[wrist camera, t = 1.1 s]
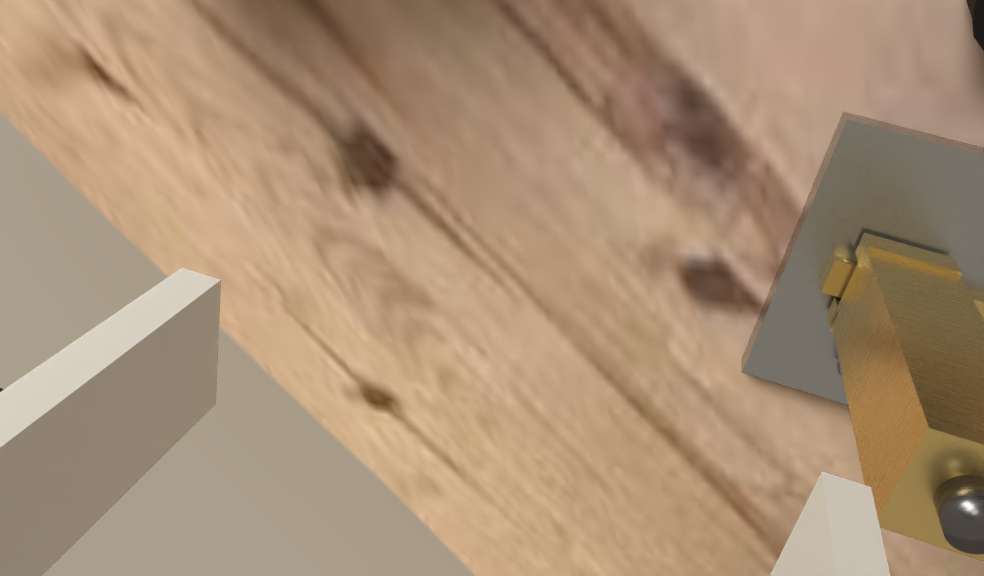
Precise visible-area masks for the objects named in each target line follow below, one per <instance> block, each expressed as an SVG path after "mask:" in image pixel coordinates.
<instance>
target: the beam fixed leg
mask: <svg viewBox="0 0 984 576" xmlns="http://www.w3.org/2000/svg"><path fill="white" fill-rule="evenodd" d="M857 263H858V260H857V257H853V256H850V255H846V254H843V253H839V252H836V251H833V252H832V254H831V256H830V259H829V261H828V263H827V265H826V268H825V270H824V272H823V274H822V277H821V279H820V281H819V284H820V289H821V292H822V293H826V294H829V295H832V296H836V297H839V298H842V296H843V294H844V292H845V289H846V287H847V285H848V283H849V281H850V279H851V276H852V274H853V272H854V270H855V268H856V266H857ZM967 290H968V292H969V294H970V296H971V298H972V299H973V301H974V303H975V305H976V306H977V308H978V310H979V312H980V313H981V315H982V317H983V319H984V293H981V292H977V291H974V290H970V289H967Z"/></svg>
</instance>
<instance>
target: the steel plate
mask: <svg viewBox="0 0 984 576" xmlns="http://www.w3.org/2000/svg"><path fill="white" fill-rule="evenodd" d="M864 233H868V234H871V235H875V236H878V237H882V238H886V239H889V240H893V241H896V242H900V243H904V244H907V245H911V246H914V247H918V248H921V249H925V250H929V251H932V252H936V253H939V254H943V255H947V256H950V257H954V259H955V261H956V262H957V264H958V266H959V268H960V269H961V271H962V275H961V277H960V278H961V280H962V282H963V283H964V285H965V287H966V289H970V290H974V291H977V292H981V293H984V148H980V147H976V146H973V145H969V144H965V143H961V142H957V141H953V140H949V139H946V138H942V137H938V136H934V135H930V134H926V133H922V132H919V131H915V130H911V129H907V128H903V127H899V126H895V125H892V124H888V123H884V122H880V121H876V120H872V119H868V118H865V117H861V116H857V115H853V114H849V113H845V112H843V114H842V117H841V119H840V122H839V124H838V126H837V129H836V131H835V134H834V136H833V139H832V141H831V143H830V146H829V148H828V151H827V153H826V156H825V158H824V160H823V163H822V165H821V168H820V170H819V173H818V175H817V177H816V180H815V182H814V185H813V187H812V190H811V192H810V195H809V197H808V199H807V202H806V204H805V207H804V209H803V212H802V214H801V216H800V219H799V221H798V224H797V226H796V229H795V231H794V233H793V236H792V238H791V241H790V243H789V246H788V248H787V250H786V253H785V255H784V258H783V260H782V263H781V265H780V267H779V270H778V272H777V275H776V277H775V280H774V282H773V285H772V287H771V289H770V292H769V294H768V297H767V299H766V302H765V304H764V306H763V309H762V311H761V314H760V316H759V319H758V321H757V323H756V326H755V328H754V331H753V333H752V336H751V338H750V340H749V343H748V345H747V348H746V350H745V353H744V355H743V357H742V373H746V374H749V375H752V376H755V377H759V378H762V379H765V380H768V381H772V382H775V383H778V384H781V385H785V386H788V387H791V388H794V389H797V390H801V391H804V392H807V393H810V394H814V395H817V396H820V397H823V398H827V399H830V400H833V401H836V402H840V403H843V404H846V405H848V401H847V396H846V392H845V387H844V382H843V377H842V375H839V374H838V370H837V363H838V361H839V358H838V353H837V349H836V344H835V339H834V334H833V332H831V331H830V328H829V324H828V319H827V313H828V311H829V308H830V306H831V304H832V302H833V300H834V297H836V296H832V295H829V294H826V293H822V292H821V289H820V284H819V281H820V279H821V277H822V274H823V272H824V270H825V268H826V265H827V263H828V261H829V259H830V256H831V254H832V252H833V251H836V252H839V253H843V254H846V255H850V256H853V257H856V253H855V251H856V249H857V247H858V245H859V243H860V240H861V238H862V236H863V234H864Z"/></svg>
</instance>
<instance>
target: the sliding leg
mask: <svg viewBox="0 0 984 576" xmlns="http://www.w3.org/2000/svg"><path fill="white" fill-rule="evenodd" d="M855 253H856V257H857V260H858V263H857V266H856V268H855V270H854V272H853V274H852V276H851V279H850V281H849V283H848V285H847V287H846V289H845V292H844V294H843V296H842V298H839V297H834V300H833V302H832V304H831V306H830V308H829V311H828V313H827V319H828V324H829V328H830V331H831V332H833V334H834V339H835V344H836V349H837V353H838V358H839V361H838V363H837V370H838V374H839V375H842V377H843V382H844V387H845V392H846V396H847V401H848V406H849V411H850V415H851V420H852V425H853V430H854V434H855V439H856V444H857V449H858V453H859V458H860V463H861V468H862V472H863V477H864V482H865V485H866V486H869V487H871V489H872V494H873V498H874V503H875V507H876V512H877V517H878V521H879V526H880V527H881V528H884V529H887V530H890V531H893V532H896V533H899V534H902V535H905V536H908V537H911V538H914V539H917V540H920V541H923V542H926V543H929V544H932V545H936V546H939V547H942V548H945V549H948V550H951V551H954V552H957V553H960V554H963V555H966V556H969V557H972V558H975V559H978V560H981V561H984V319H983V317H982V315H981V313H980V312H979V310H978V308H977V306H976V305H975V303H974V301H973V299H972V298H971V296H970V294H969V292H968V290H967V289H966V287H965V285H964V283H963V282H962V280H961V278H960V277H961V275H962V271H961V269H960V268H959V266H958V264H957V262H956V261H955V259H954V257H950V256H947V255H943V254H939V253H936V252H932V251H929V250H925V249H921V248H918V247H914V246H911V245H907V244H904V243H900V242H896V241H893V240H889V239H886V238H882V237H878V236H875V235H871V234H868V233H864V234H863V236H862V238H861V240H860V243H859V245H858V247H857V249H856V251H855Z"/></svg>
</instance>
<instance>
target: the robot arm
mask: <svg viewBox="0 0 984 576" xmlns="http://www.w3.org/2000/svg"><path fill="white" fill-rule="evenodd" d="M220 288H221V280H219V279H216V278H213V277H210V276H207V275H203V274H200V273H197V272H194V271H191V270H188V269H185V268H181V269H179V270H178V271H177V272H175V273H174V274H172V275H171V276H169V277H168V278H166V279H165V280H163V281H162V282H161V283H159V284H158V285H156V286H155V287H153V288H152V289H151V290H149V291H147V292H146V293H145V294H143V295H142V296H140V297H139V298H137V299H136V300H134V301H133V302H131V303H130V304H128V305H127V306H125V307H124V308H123V309H121V310H120V311H118V312H117V313H115V314H114V315H112V316H111V317H109V318H108V319H106V320H105V321H103V322H102V323H101V324H99V325H98V326H96V327H95V328H93V329H92V330H90V331H89V332H87V333H86V334H85V335H83V336H82V337H80V338H79V339H77V340H76V341H74V342H73V343H71V344H70V345H68V346H67V347H65V348H64V349H63V350H61V351H60V352H58V353H57V354H55V355H54V356H52V357H51V358H49V359H48V360H46V361H45V362H44V363H42V364H41V365H39V366H38V367H36V368H35V369H33V370H32V371H30V372H29V373H27V374H26V375H25V376H23V377H22V378H20V379H19V380H17V381H16V382H14V383H13V384H12V385H10V386H9V387H7V388H6V389H2V388H0V576H42V575H43V574H44V573H45V572H46V571H47V570H48V569H49V568H50V567H51V566H52V565H53V564H54V563H55V562H56V561H57V560H58V559H59V558H60V557H61V556H62V555H63V554H64V553H65V552H66V551H67V550H68V549H69V548H70V547H72V546H73V545H74V544H75V543H76V541H78V539H80V538H81V537H82V536H83V535H84V534H85V533H86V532H87V531H88V530H89V529H90V528H91V527H92V526H93V525H94V524H95V523H96V522H97V521H98V520H99V519H100V518H101V517H102V516H103V515H104V514H105V513H106V512H107V511H108V510H109V509H110V508H111V507H112V506H113V505H114V504H115V503H116V502H117V501H118V500H119V499H120V498H121V497H122V496H123V495H124V494H125V493H126V492H127V491H128V490H129V489H130V488H131V487H132V486H133V485H134V484H135V483H136V482H137V481H138V480H139V479H140V478H141V477H142V476H143V475H144V474H145V473H146V472H147V471H148V470H149V469H150V468H151V467H152V466H153V465H155V463H157V461H159V460H160V459H161V458H162V456H164V455H165V453H167V452H168V451H169V450H170V449H171V448H172V447H173V446H174V445H175V444H176V443H177V442H178V441H179V440H180V439H181V438H182V437H183V436H184V435H185V434H186V433H187V432H188V431H189V430H190V429H191V428H192V427H193V426H194V425H195V424H196V423H197V422H198V421H199V420H200V419H201V418H202V417H203V416H204V415H205V414H206V413H207V412H208V411H209V410H210V409H211V408H212V407H213V406H214V405H215V404H216V390H217V388H216V387H217V364H218V363H217V362H218V339H219V313H220ZM770 576H890V571H889V567H888V562H887V558H886V553H885V549H884V544H883V539H882V535H881V530H880V526H879V521H878V517H877V512H876V507H875V503H874V498H873V494H872V489H871V487H869V486H866V485H863V484H860V483H857V482H854V481H850V480H847V479H844V478H841V477H838V476H835V475H832V474H828V473H825V472H822V473H821V475H820V477H819V479H818V481H817V483H816V485H815V487H814V489H813V491H812V493H811V495H810V497H809V499H808V501H807V503H806V505H805V507H804V509H803V510H802V512H801V514H800V516H799V518H798V520H797V522H796V524H795V526H794V528H793V530H792V532H791V534H790V536H789V538H788V540H787V542H786V544H785V546H784V548H783V550H782V552H781V554H780V556H779V558H778V560H777V562H776V564H775V566H774V568H773V570H772V572H771V574H770Z"/></svg>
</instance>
